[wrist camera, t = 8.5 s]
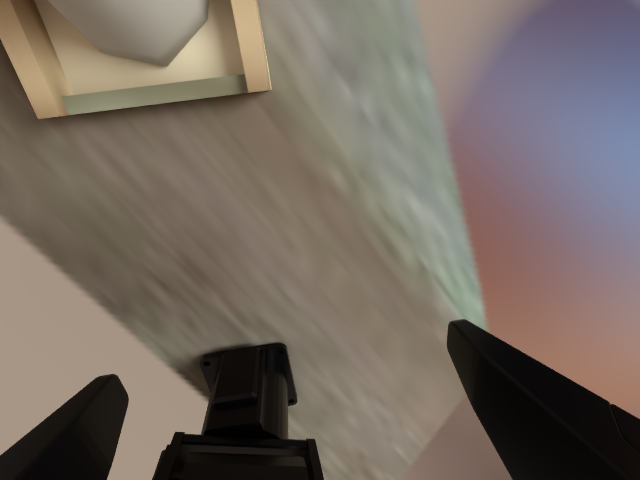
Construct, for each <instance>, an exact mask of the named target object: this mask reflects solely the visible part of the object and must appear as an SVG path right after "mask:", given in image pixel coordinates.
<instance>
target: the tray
mask: <svg viewBox="0 0 640 480" xmlns="http://www.w3.org/2000/svg"><path fill="white" fill-rule="evenodd" d="M0 39H1V41H2V43H3V45H4V47H5V49H6V52H7V54H8V56H9V58H10V60H11V62H12V64H13V67H14V69H15V71H16V73H17V75H18V77H19V79H20V81H21V84H22V86H23V88H24V90H25V92H26V94H27V96H28V98H29V101H30V103H31V105H32V107H33V109H34V111H35V113H36V116H37V118H38V119H43V118H51V117H59V116H66V115H74V114H82V113H90V112H98V111H106V110H114V109H122V108H130V107H138V106H146V105H154V104H162V103H170V102H178V101H186V100H194V99H202V98H210V97H218V96H226V95H234V94H242V93H251V92H259V91H267V90H272V87H271V81H270V75H269V69H268V63H267V56H266V50H265V44H264V38H263V32H262V25H261V19H260V13H259V7H258V1H257V0H209V4H208V20H207V21H206V22H205V23H204V24H203V26H202V27H201V28H200V29H199V30H198V31H197V33H196V34H195V35H194V36H193V37H192V38H191V40H190V41H189V42H188V43H187V44H186V45H185V47H184V48H183V49H182V50H181V51H180V52H179V54H178V55H177V56H176V57H175V58H174V59H173V61H172V62H171V63H170V64H169V65H168V66H162V65H158V64H153V63H149V62H144V61H140V60H135V59H131V58H126V57H121V56H117V55H112V54H108V53H103V52H101V51H100V50H99V49H98V48H97V47H95V46H94V45H93V44H92V43H91V42H90V41H89V40H88V39H87V38H86V37H85V36H84V35H83V34H82V33H81V32H80V31H79V30H78V29H76V28H75V27H74V26H73V25H72V24H71V23H70V22H69V21H68V20H67V19H66V18H65V17H64V16H63V15H62V14H61V13H60V12H58V11H57V10H56V9H55V8H54V7H53V6H52V5H51V4H50V3H49V2H48V1H47V0H0Z"/></svg>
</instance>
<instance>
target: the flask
mask: <svg viewBox="0 0 640 480" xmlns="http://www.w3.org/2000/svg"><path fill="white" fill-rule="evenodd" d="M47 1H48V2H49V3H50V4H51V5H52V6H53V7H54V8H55V9H56V10H57V11H58V12H60V13H61V14H62V15H63V16H64V17H65V18H66V19H67V20H68V21H69V22H70V23H71V24H72V25H73V26H74V27H75V28H76V29H78V30H79V31H80V32H81V33H82V34H83V35H84V36H85V37H86V38H87V39H88V40H89V41H90V42H91V43H92V44H93V45H94V46H95V47H97V48H98V49H99V50H100V51H101V52H103V53H108V54H112V55H117V56H121V57H126V58H131V59H135V60H140V61H144V62H149V63H153V64H158V65H162V66H168V65H169V64H170V63H171V62H172V61H173V59H174V58H175V57H176V56H177V55H178V54H179V52H180V51H181V50H182V49H183V48H184V47H185V45H186V44H187V43H188V42H189V41H190V40H191V38H192V37H193V36H194V35H195V34H196V33H197V31H198V30H199V29H200V28H201V27H202V26H203V24H204V23H205V22H206V21H207V20H208V4H209V0H47Z"/></svg>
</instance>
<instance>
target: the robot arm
mask: <svg viewBox="0 0 640 480" xmlns="http://www.w3.org/2000/svg"><path fill="white" fill-rule="evenodd" d="M447 349H448V352H449V354H450V357H451V359H452V361H453V364H454V366H455V368H456V371H457V373H458V375H459V378H460V380H461V382H462V385H463V387H464V389H465V392H466V394H467V396H468V399H469V401H470V403H471V405H472V407H473V409H474V411H475V413H476V415H477V417H478V418H479V420H480V422H481V424H482V426H483V427H484V429H485V431H486V433H487V435H488V436H489V438H490V440H491V442H492V443H493V445H494V447H495V449H496V451H497V453H498V454H499V456H500V458H501V460H502V461H503V463H504V465H505V467H506V469H507V471H508V472H509V474H510V476H511V478H512V479H513V480H640V419H639V418H637V417H635V416H633V415H631V414H630V413H628V412H626V411H625V410H623V409H621V408H619V407H617V406H616V405H614V404H611V405H610V403H609V402H608V401H607V400H605V399H603V398H602V397H600V396H598V395H596V394H595V393H593V392H591V391H589V390H588V389H586V388H584V387H582V386H580V385H579V384H577V383H575V382H574V381H572V380H570V379H568V378H567V377H565V376H563V375H561V374H559V373H558V372H556V371H554V370H553V369H551V368H549V367H547V366H546V365H544V364H542V363H541V362H539V361H537V360H535V359H533V358H532V357H530V356H528V355H526V354H525V353H523V352H521V351H520V350H518V349H516V348H514V347H512V346H511V345H509V344H507V343H506V342H504V341H502V340H500V339H499V338H497V337H495V336H493V335H492V334H490V333H488V332H486V331H485V330H483V329H481V328H479V327H478V326H476V325H474V324H472V323H471V322H469V321H467V320H465V319H461V320H454V321H451V322H449V325H448V335H447ZM279 350H282V351H279ZM206 361H208V362H206ZM200 366H201V368H202V371H203V373H204V376H205V379H206V381H207V384H208V387H209V389H210V392H211V395H210V399H209V403H208V407H207V412H206V416H205V420H204V424H203V429H202V433H201V435H195V434H185V433H184V432H175V434H174V436H173V439H172V442H171V444H170V445H167V447H166V449H165V450H163V451H162V453H161V456H160V459H159V462H158V464H157V467H156V470H155V474H154V476H153V478H152V480H324V478H323V473H322V469H321V464H320V460H319V455H318V451H317V446H316V442H315V439H306V440H294V439H288V406H291V405H294V404H296V403H297V394H296V389H295V384H294V379H293V375H292V370H291V365H290V360H289V355H288V351H287V347H286V345H285V344H282V343H279V344H272V345H266V346H260V347H253V348H247V349H240V350H234V351H228V352H221V353H215V354H209V355H204V356H203V357H202V358H201V361H200ZM128 401H129V399H128V394H127V392H126V390H125V388H124V386H123V385H122V383H121V381H120V379H119V378H118V376H117V375H115V374H110V375H104V376H99V377H97V378H95V379H94V380H93V381H92V382H90V383H89V384H88V385H87V386H86V387H84V388H83V389H82V390H81V391H79V392H78V393H77V394H76V395H75V396H73V397H72V398H71V399H69V400H68V401H67V402H66V403H65V404H63V405H62V406H61V407H60V408H58V409H57V410H56V411H55V412H53V413H52V414H51V415H50V416H49V417H47V418H46V419H45V420H44V421H42V422H41V423H40V424H39V425H38V426H36V427H35V428H34V429H32V430H31V431H30V432H29V433H28V434H26V435H25V436H24V437H23V438H21V439H20V440H19V441H18V442H16V443H15V444H14V445H13V446H12V447H10V448H9V449H8V450H7V451H5V452H4V453H3V454H2V455H0V480H107V477H108V474H109V471H110V468H111V466H112V462H113V459H114V455H115V452H116V448H117V444H118V440H119V437H120V433H121V429H122V425H123V421H124V418H125V414H126V410H127V407H128Z"/></svg>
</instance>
